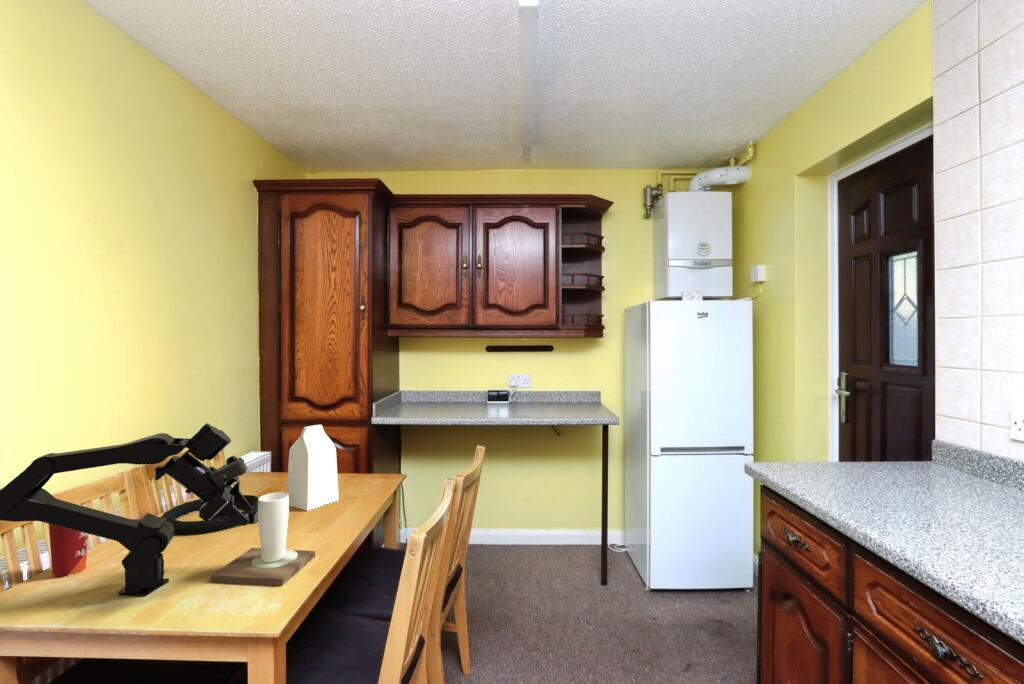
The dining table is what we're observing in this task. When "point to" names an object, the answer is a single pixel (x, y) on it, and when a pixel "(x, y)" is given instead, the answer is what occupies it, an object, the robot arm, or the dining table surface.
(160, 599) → the dining table surface
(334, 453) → the milk
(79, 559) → the paper cup
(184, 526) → the cable lock
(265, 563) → the walnut board
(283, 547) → the drinking glass
